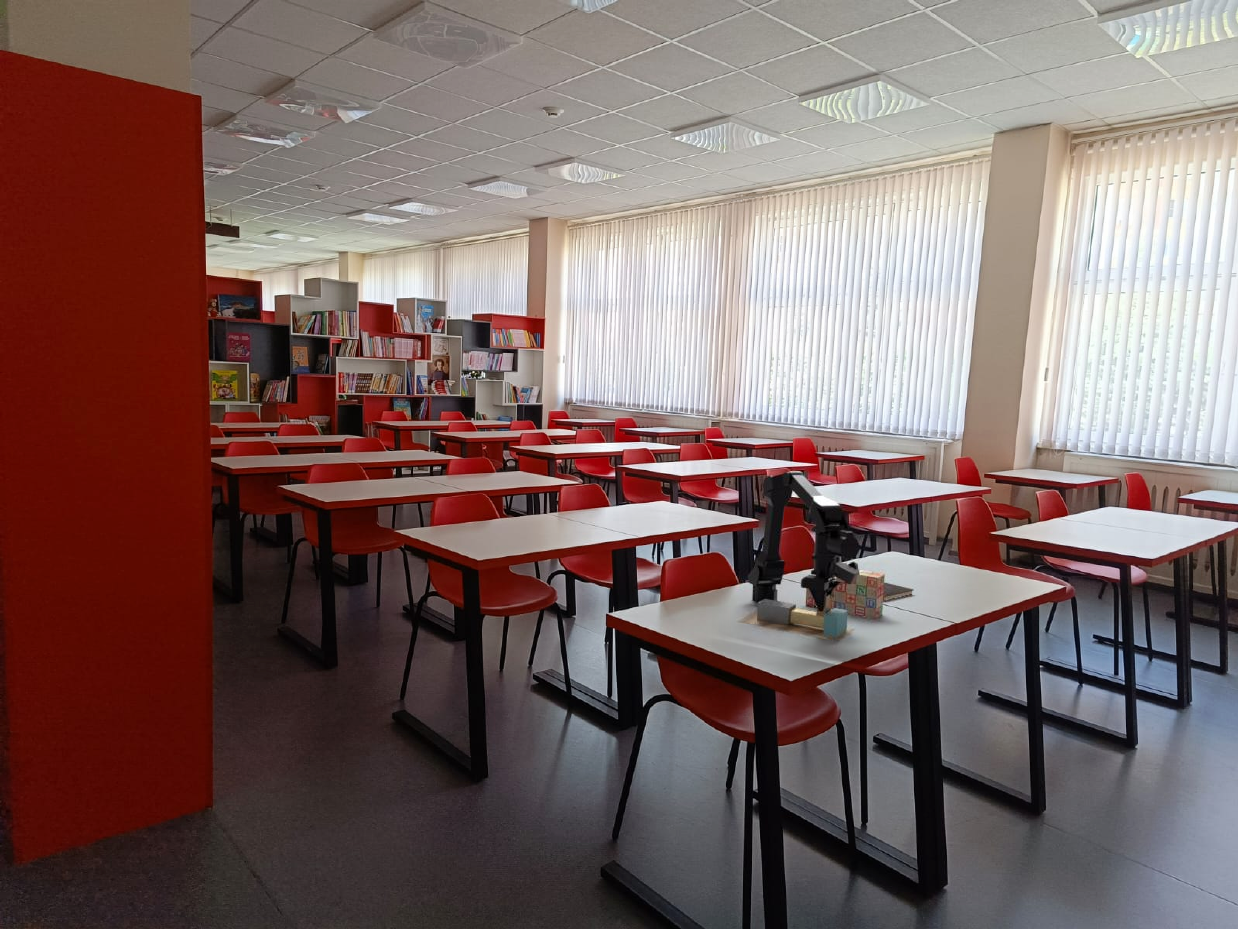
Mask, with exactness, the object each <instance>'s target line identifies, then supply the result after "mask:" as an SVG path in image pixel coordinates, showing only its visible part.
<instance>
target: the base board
mask: <svg viewBox="0 0 1238 929" xmlns="http://www.w3.org/2000/svg"><path fill="white" fill-rule="evenodd" d="M737 622H740V623H744V624H749V625H750V624H751V625H755V626H760V627H764V628H768V629H769V628H770V629H775V630H778V631H779V630H780V631H785V632H790V633H794V634H800V635H803V636H809V637H815V638H819V639H824V640H831V641H835V642H840V641H841V640H842V639H844V638H845V637H846V636H848V635H849V634H850V633H852V632H853V631H854V630H855V628H851V627H847V631H845V632H844V633H843V634H841V635H840V636H838V637H837V638H835V637H830V636H825V635H823V632H824V629H821V628H816V627H811V626H806V625H800V624H795V623H793V624H791V625H790V626H783V625H778V624H773V623H768V622H763V621H758V620H757V610H756V611H754V612H752V613H750V614H748V615H746V616H744V617H743V618H740V619H738V620H737Z"/></svg>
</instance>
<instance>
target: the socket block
mask: <svg viewBox="0 0 1238 929" xmlns="http://www.w3.org/2000/svg"><path fill="white" fill-rule="evenodd" d="M847 613H848V610H842V609H837V608H834V609H832V610H830V611H829V612H828V613H826V614H825V615H824V632H823V635H825V636H830V637H835V638H837V637H838V636H840V635H841V634H843V633H844V632H845V631H847V628H848V614H847Z"/></svg>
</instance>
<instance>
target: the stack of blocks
mask: <svg viewBox="0 0 1238 929" xmlns="http://www.w3.org/2000/svg"><path fill="white" fill-rule="evenodd" d="M859 570H860V571H859V575H858V576H857V578H856V580H855V582H853V583H852V584H847V583H845V581H843V580H841V579H839V578H837V577H835V578H836V581H839V582H841V584H839V585H838V586H837V587H835V588H834V590H833V593H832V596H831V599H830V609H834V608H837V609H842V610H848V613H851V614H850V615H852V614H855V615H854V616H857V615H858V616H859V617H862V616H865V617H864V618H867V617H869V618H868V619H873V620H874V619H875V620H876V619H878V618H879V617H881V616H882V615H883V611H884V610H883V606H884V601H883V594H884V582H885V576H886V575H885V573H879V572H874V571H871V570H866V569H865V570H863V569H862V570H861V569H859ZM809 575H812V574H811V573H810V574H809ZM815 576H816V575H815ZM807 605H809V607H812V606H816V604H815V601H814V599H813V597H812V594H811V592H810V590H809V589H807V588H805V606H807ZM878 616H879V617H878ZM877 617H878V618H877Z"/></svg>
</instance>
